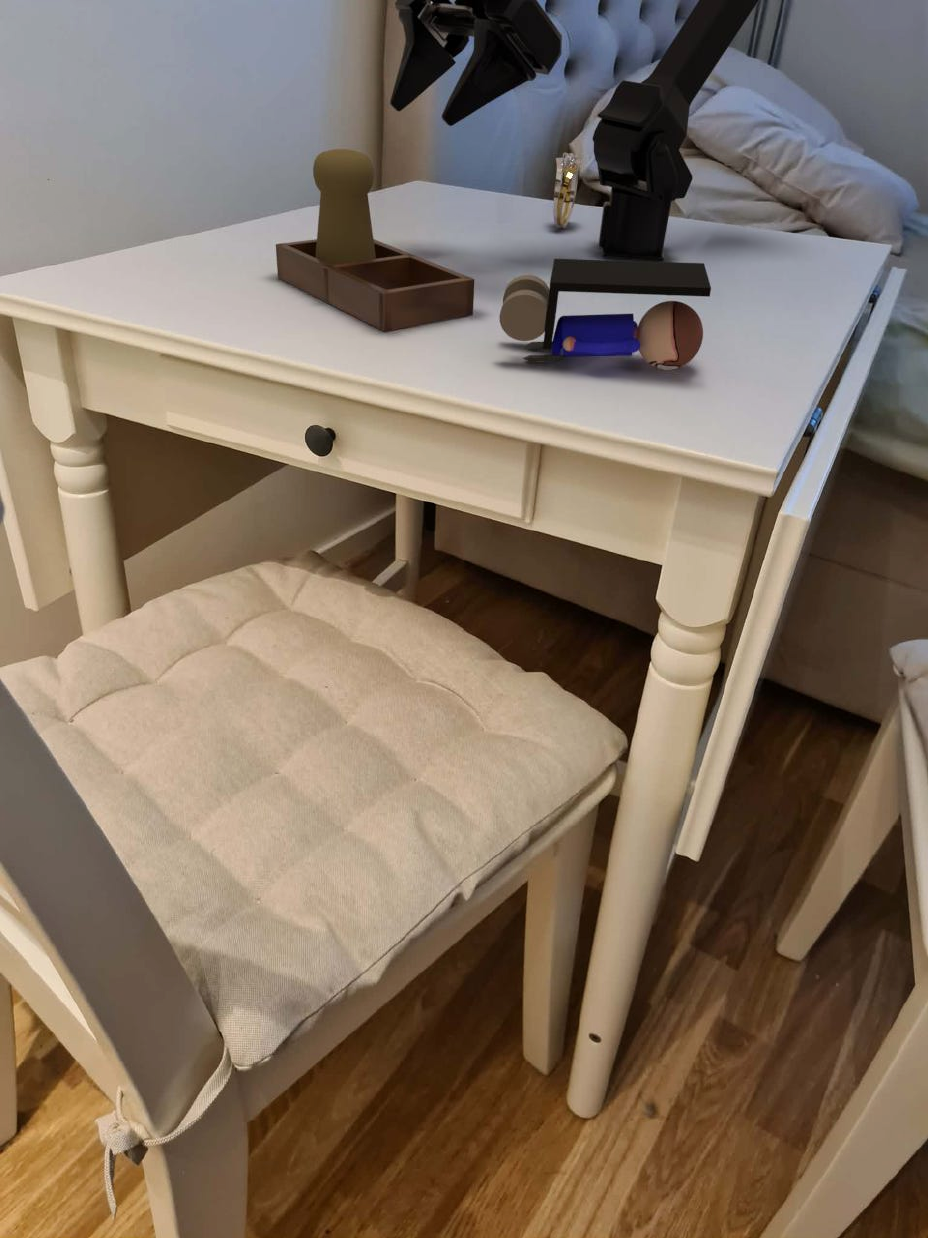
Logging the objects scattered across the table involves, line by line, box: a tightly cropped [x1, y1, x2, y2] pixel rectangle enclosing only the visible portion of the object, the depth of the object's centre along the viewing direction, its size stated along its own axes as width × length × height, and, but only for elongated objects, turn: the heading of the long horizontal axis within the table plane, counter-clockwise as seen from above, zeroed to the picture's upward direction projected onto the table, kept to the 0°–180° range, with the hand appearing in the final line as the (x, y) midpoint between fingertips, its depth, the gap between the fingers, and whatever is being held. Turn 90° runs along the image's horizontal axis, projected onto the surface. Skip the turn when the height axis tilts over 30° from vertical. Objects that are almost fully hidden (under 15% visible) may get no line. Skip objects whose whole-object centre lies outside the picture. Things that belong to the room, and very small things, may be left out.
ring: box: [552, 151, 583, 229], centre depth 103 cm, size 7×3×8 cm, turn 157°
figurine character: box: [498, 258, 712, 371], centre depth 66 cm, size 7×8×15 cm
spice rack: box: [275, 238, 476, 332], centre depth 78 cm, size 9×18×3 cm, turn 38°
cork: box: [312, 148, 376, 265], centre depth 78 cm, size 6×6×11 cm
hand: (418, 114), depth 77 cm, fingers open, 9 cm apart
